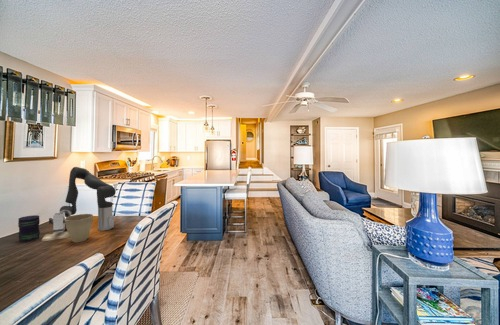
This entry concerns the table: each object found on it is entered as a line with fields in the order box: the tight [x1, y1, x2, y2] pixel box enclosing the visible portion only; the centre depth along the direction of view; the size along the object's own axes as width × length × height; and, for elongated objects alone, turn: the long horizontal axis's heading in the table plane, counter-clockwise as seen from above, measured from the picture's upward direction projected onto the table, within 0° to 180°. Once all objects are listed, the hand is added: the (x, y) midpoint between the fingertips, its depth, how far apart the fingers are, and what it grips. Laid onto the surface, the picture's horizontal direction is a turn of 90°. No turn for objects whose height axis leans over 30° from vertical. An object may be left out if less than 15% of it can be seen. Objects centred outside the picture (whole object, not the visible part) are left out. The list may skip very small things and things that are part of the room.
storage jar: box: [17, 214, 41, 243], centre depth 140 cm, size 10×10×15 cm
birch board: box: [41, 231, 70, 242], centre depth 146 cm, size 16×10×2 cm, turn 122°
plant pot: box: [64, 213, 94, 244], centre depth 140 cm, size 15×15×16 cm
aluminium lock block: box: [52, 212, 66, 233], centre depth 146 cm, size 5×6×12 cm
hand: (58, 222), depth 143 cm, fingers closed on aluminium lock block, 5 cm apart
